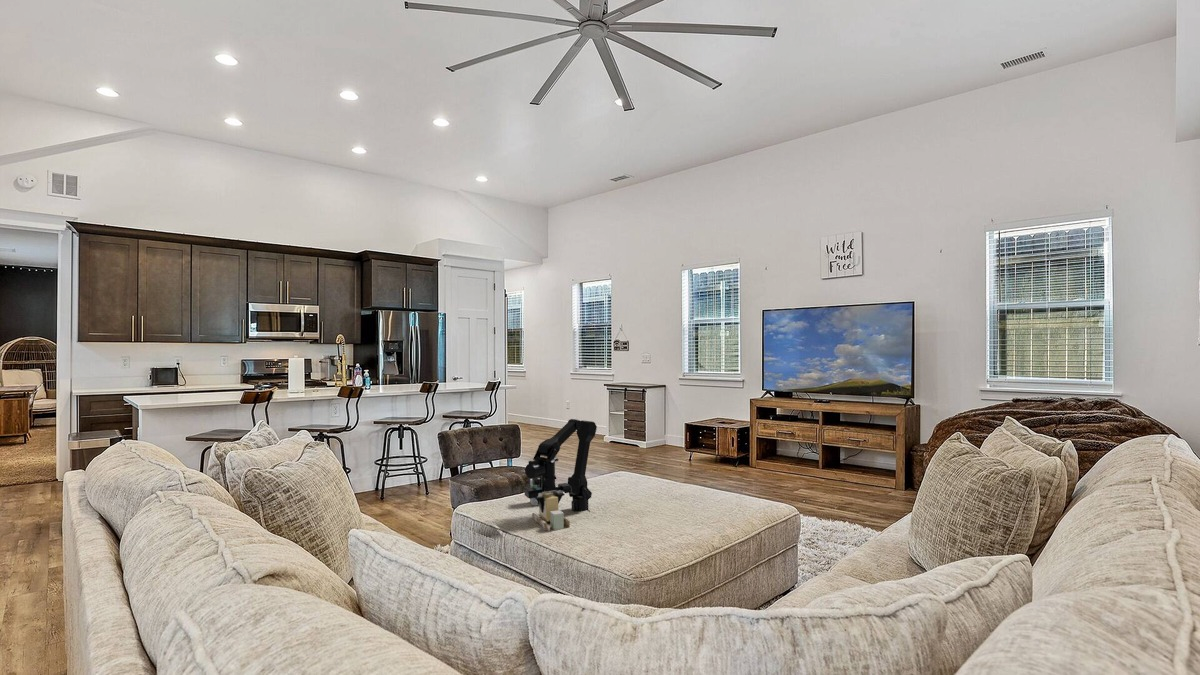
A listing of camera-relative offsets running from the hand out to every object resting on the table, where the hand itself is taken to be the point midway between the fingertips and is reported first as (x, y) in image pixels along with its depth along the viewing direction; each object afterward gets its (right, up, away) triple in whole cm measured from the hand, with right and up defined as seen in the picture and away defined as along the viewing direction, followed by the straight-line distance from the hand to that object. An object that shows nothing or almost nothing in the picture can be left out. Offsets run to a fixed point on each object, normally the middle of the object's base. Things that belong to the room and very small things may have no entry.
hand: (548, 511), depth 243 cm
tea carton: (0, -3, 0) cm, 3 cm away
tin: (+4, -4, -8) cm, 10 cm away
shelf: (+1, -5, -2) cm, 5 cm away
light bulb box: (-5, -5, +29) cm, 30 cm away
